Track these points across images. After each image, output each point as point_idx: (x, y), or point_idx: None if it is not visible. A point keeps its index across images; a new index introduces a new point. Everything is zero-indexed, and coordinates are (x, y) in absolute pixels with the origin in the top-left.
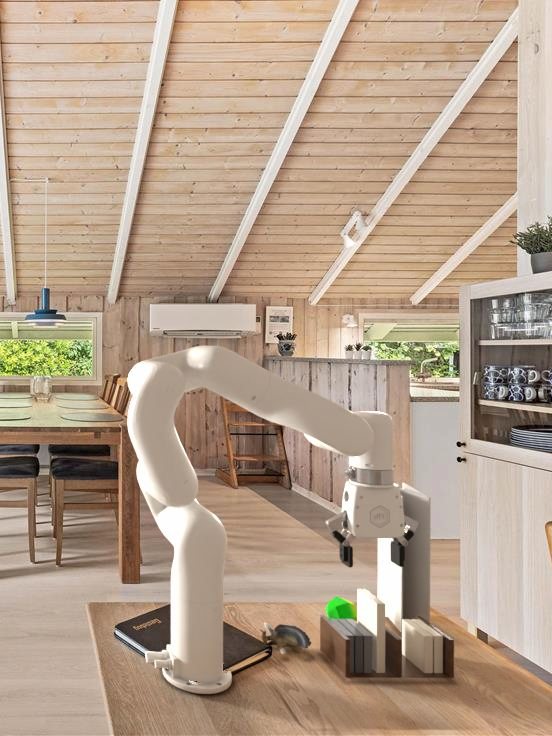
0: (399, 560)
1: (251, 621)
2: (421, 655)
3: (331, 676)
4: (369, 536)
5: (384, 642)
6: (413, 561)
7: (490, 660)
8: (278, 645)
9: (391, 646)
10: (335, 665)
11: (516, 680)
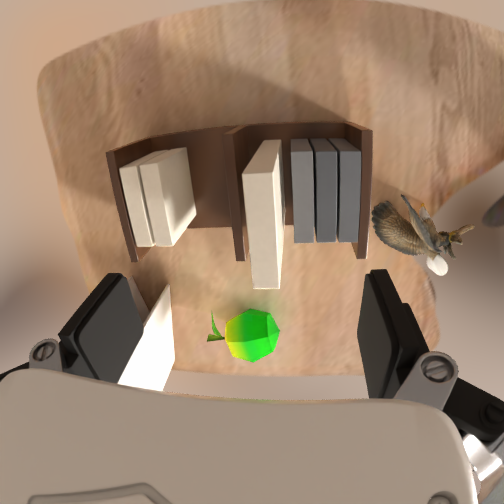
0: (112, 291)
1: None
2: (177, 162)
3: None
4: (295, 409)
5: (259, 149)
6: None
7: (73, 219)
8: (433, 223)
9: (240, 155)
10: None
11: (63, 165)
